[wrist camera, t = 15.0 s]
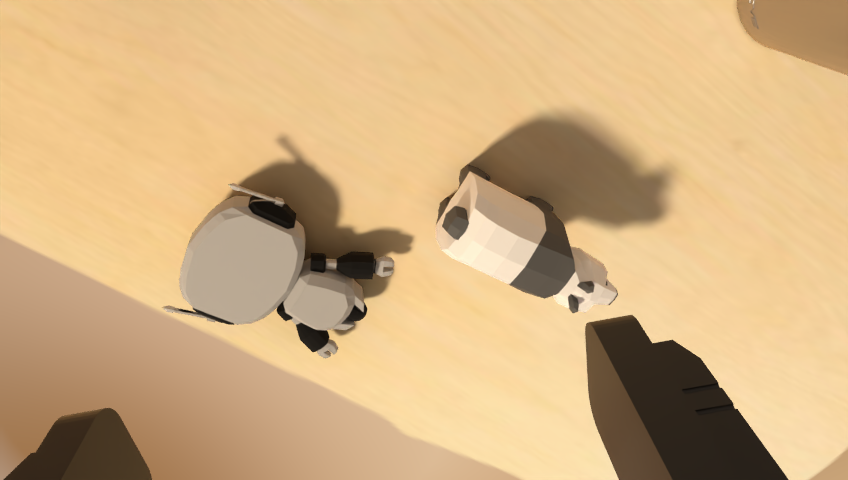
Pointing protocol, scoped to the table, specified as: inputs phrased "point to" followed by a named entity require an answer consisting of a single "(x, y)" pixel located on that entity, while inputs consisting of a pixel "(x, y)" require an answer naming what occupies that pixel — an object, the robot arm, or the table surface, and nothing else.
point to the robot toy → (272, 272)
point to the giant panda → (519, 244)
